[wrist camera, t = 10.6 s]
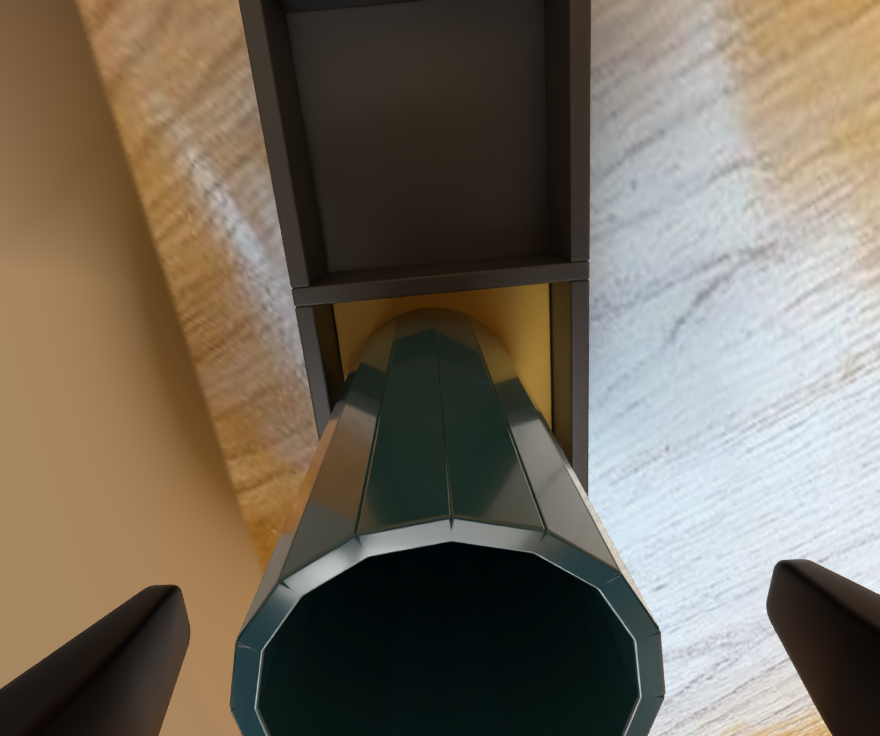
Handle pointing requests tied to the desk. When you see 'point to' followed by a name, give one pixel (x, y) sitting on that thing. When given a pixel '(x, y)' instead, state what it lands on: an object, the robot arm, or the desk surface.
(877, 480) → the desk surface
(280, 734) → the cup
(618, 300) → the desk surface
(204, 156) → the desk surface
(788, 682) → the desk surface
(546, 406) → the holder
